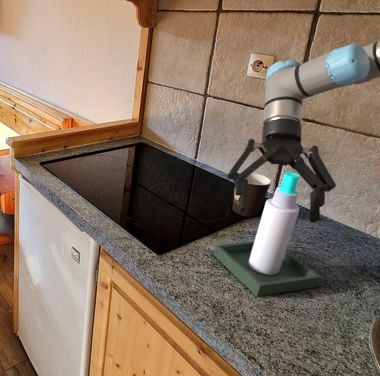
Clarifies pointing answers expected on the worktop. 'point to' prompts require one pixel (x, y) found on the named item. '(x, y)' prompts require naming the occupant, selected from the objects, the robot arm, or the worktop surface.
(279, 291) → the tray
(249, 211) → the coffee mug
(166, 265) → the worktop surface
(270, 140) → the robot arm
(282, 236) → the spray bottle
